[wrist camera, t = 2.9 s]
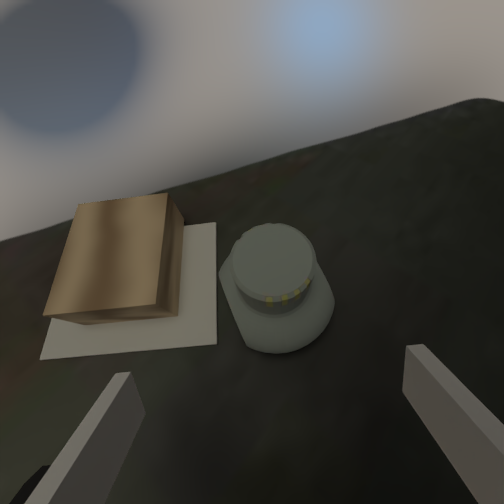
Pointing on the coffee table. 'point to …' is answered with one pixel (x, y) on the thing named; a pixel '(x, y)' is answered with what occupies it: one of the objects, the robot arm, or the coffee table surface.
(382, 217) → the coffee table surface
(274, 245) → the air freshener
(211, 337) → the mat
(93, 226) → the base block
